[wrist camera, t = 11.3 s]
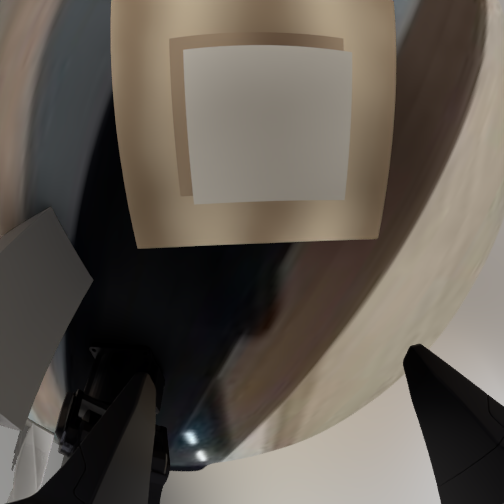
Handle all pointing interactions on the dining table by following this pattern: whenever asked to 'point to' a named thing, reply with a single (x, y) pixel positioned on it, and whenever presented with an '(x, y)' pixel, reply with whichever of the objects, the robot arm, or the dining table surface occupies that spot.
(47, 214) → the perfume bottle
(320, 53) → the cream cube
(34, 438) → the skyscraper
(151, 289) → the dining table surface
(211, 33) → the oak base
